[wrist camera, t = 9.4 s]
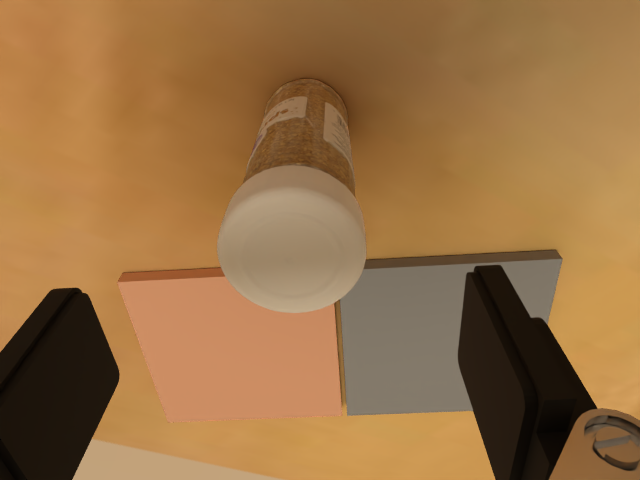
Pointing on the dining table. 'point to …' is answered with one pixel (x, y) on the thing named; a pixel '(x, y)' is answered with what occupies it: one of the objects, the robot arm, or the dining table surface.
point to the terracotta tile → (230, 350)
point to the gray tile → (424, 327)
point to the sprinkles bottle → (296, 206)
